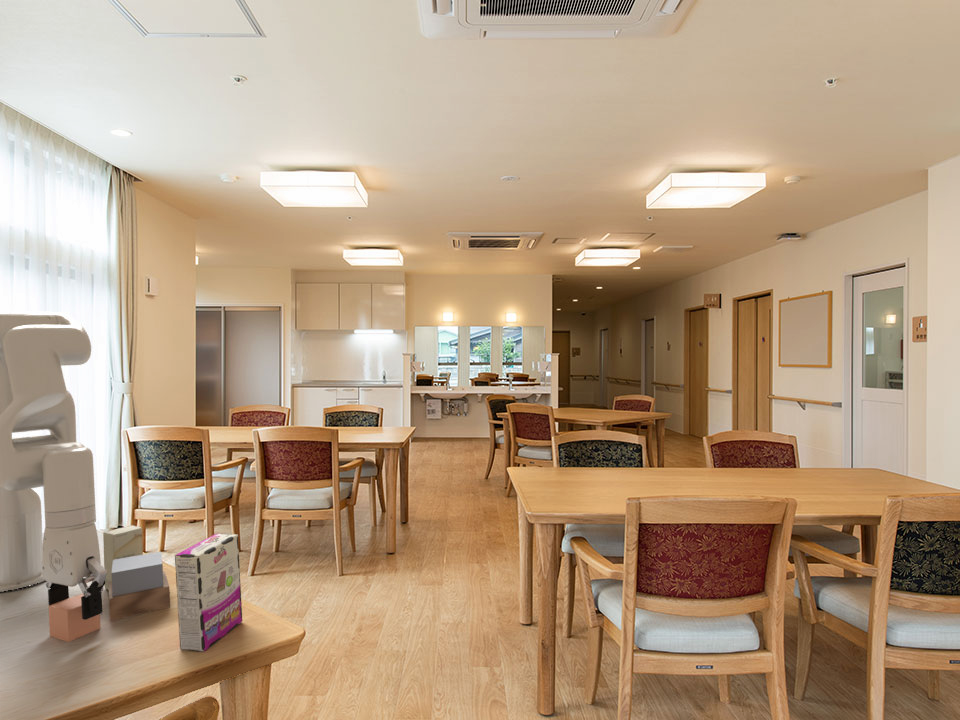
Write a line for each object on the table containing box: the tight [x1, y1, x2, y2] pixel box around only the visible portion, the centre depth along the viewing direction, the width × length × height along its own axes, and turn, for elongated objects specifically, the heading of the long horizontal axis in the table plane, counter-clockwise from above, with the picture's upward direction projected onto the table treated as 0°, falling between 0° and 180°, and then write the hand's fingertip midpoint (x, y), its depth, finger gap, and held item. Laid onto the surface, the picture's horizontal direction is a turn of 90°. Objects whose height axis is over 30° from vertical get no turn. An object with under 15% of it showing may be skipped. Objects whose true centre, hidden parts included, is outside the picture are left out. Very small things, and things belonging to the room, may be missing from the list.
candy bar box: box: [174, 533, 243, 653], centre depth 104 cm, size 11×5×16 cm, turn 168°
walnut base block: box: [108, 570, 171, 622], centre depth 118 cm, size 10×10×4 cm
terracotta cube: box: [48, 593, 101, 643], centre depth 107 cm, size 6×6×6 cm
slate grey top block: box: [111, 551, 164, 597], centre depth 118 cm, size 8×8×4 cm
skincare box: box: [102, 524, 144, 591], centre depth 128 cm, size 6×4×12 cm
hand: (75, 612), depth 107 cm, fingers open, 9 cm apart
